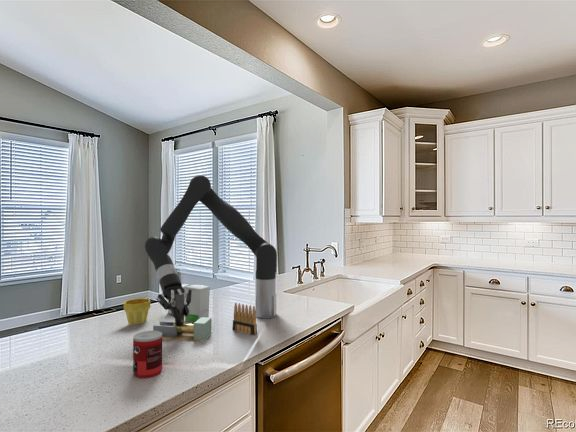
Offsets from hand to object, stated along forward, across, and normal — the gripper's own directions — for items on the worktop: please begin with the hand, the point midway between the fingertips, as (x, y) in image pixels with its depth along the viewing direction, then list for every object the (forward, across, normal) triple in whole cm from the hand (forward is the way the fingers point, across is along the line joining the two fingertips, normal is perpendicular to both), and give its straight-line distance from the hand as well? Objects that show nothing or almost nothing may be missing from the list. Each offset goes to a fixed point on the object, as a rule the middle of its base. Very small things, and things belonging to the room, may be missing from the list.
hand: (182, 316), depth 124 cm
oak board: (+5, +1, +7) cm, 9 cm away
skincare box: (-4, +14, +17) cm, 22 cm away
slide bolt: (+6, +2, +5) cm, 8 cm away
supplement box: (-19, +15, +32) cm, 40 cm away
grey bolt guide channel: (+2, -3, +9) cm, 10 cm away
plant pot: (-14, -6, +27) cm, 31 cm away
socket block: (+9, +6, +2) cm, 11 cm away
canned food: (+19, -19, -6) cm, 27 cm away
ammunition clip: (+14, +20, -2) cm, 25 cm away
